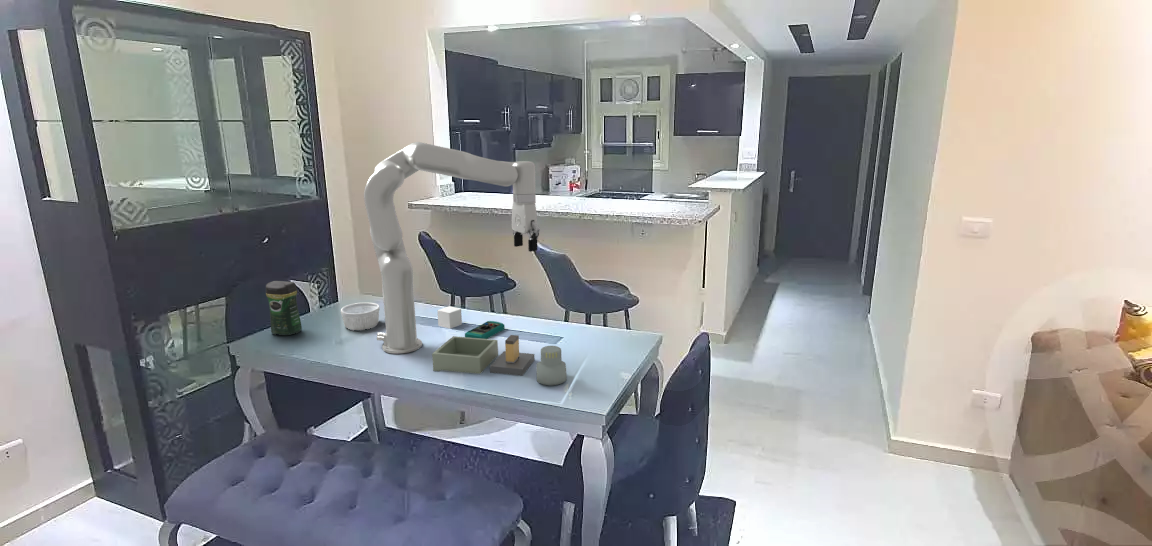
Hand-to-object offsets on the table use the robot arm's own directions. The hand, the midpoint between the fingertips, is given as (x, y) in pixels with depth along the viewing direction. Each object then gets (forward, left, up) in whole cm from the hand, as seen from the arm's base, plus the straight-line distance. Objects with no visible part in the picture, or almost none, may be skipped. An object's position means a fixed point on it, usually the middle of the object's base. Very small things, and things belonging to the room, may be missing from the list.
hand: (525, 248), depth 209 cm
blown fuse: (+6, -33, -29) cm, 44 cm away
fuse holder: (+6, -33, -30) cm, 44 cm away
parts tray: (-9, -33, -30) cm, 45 cm away
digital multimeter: (-13, -7, -30) cm, 34 cm away
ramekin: (-60, -9, -30) cm, 68 cm away
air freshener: (+20, -40, -30) cm, 53 cm away
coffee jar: (-82, -21, -30) cm, 90 cm away
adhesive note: (-29, -1, -30) cm, 42 cm away
